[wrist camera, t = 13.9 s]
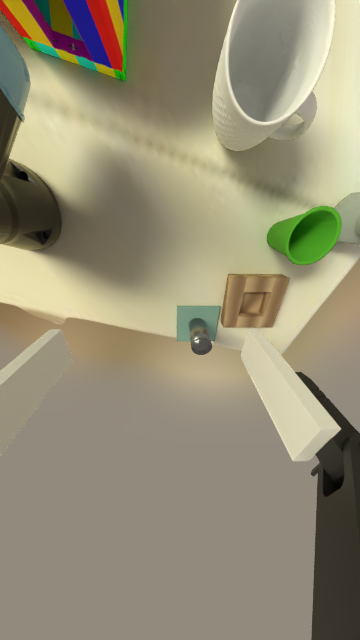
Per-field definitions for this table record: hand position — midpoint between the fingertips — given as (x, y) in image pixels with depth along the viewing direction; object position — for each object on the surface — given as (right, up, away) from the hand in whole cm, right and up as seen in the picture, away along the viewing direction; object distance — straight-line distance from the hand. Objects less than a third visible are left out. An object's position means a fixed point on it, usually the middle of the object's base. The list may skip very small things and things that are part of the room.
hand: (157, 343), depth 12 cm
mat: (+7, +1, +37) cm, 37 cm away
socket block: (+21, +8, +33) cm, 40 cm away
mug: (+12, +36, +16) cm, 41 cm away
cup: (+24, +21, +25) cm, 41 cm away
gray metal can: (+7, 0, +36) cm, 37 cm away
